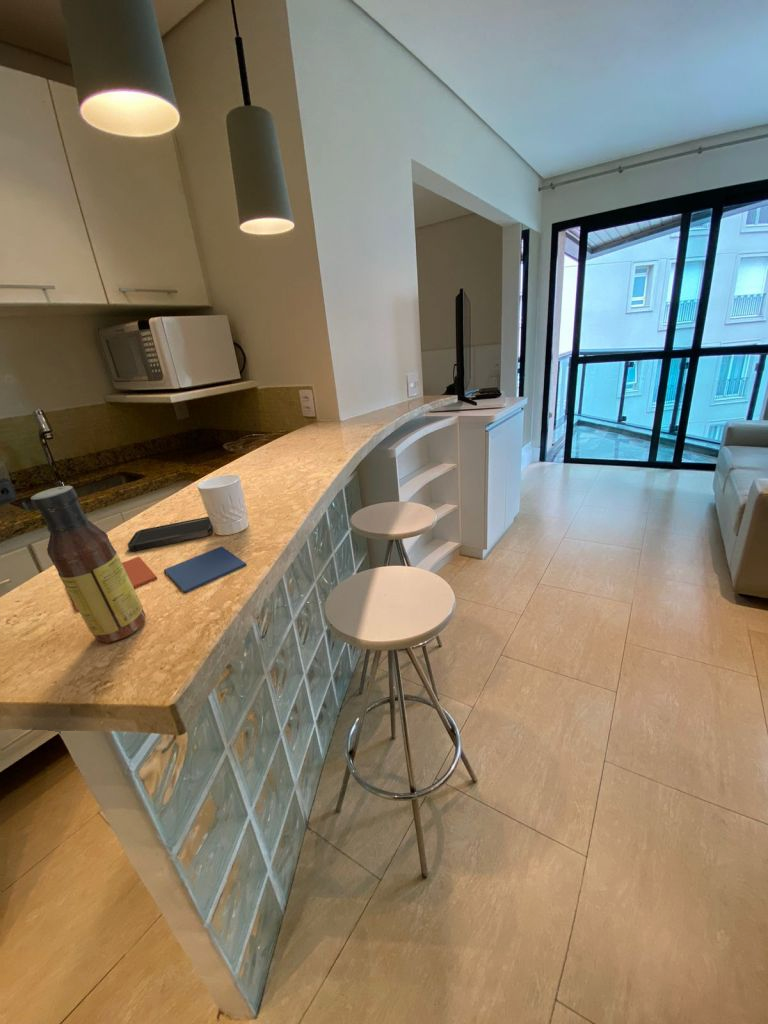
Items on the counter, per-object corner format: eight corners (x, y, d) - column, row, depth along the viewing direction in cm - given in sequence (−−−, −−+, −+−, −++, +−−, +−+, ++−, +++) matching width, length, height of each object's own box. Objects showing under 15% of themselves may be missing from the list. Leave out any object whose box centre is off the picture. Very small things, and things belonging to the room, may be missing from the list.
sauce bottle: (144, 608, 58) (89, 476, 50) (151, 629, 53) (92, 487, 45) (90, 630, 55) (23, 492, 47) (92, 654, 50) (18, 505, 42)
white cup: (219, 541, 76) (204, 491, 73) (206, 529, 82) (191, 483, 78) (258, 526, 81) (246, 479, 77) (243, 516, 87) (231, 472, 83)
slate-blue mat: (184, 593, 61) (183, 591, 61) (164, 571, 68) (163, 569, 68) (246, 565, 67) (246, 563, 67) (222, 547, 74) (221, 546, 74)
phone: (137, 530, 83) (214, 515, 86) (139, 535, 83) (215, 520, 86) (125, 547, 76) (210, 529, 79) (127, 552, 76) (211, 535, 79)
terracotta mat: (77, 611, 59) (76, 609, 59) (67, 585, 67) (66, 583, 67) (157, 578, 66) (156, 576, 66) (139, 558, 73) (139, 556, 73)
